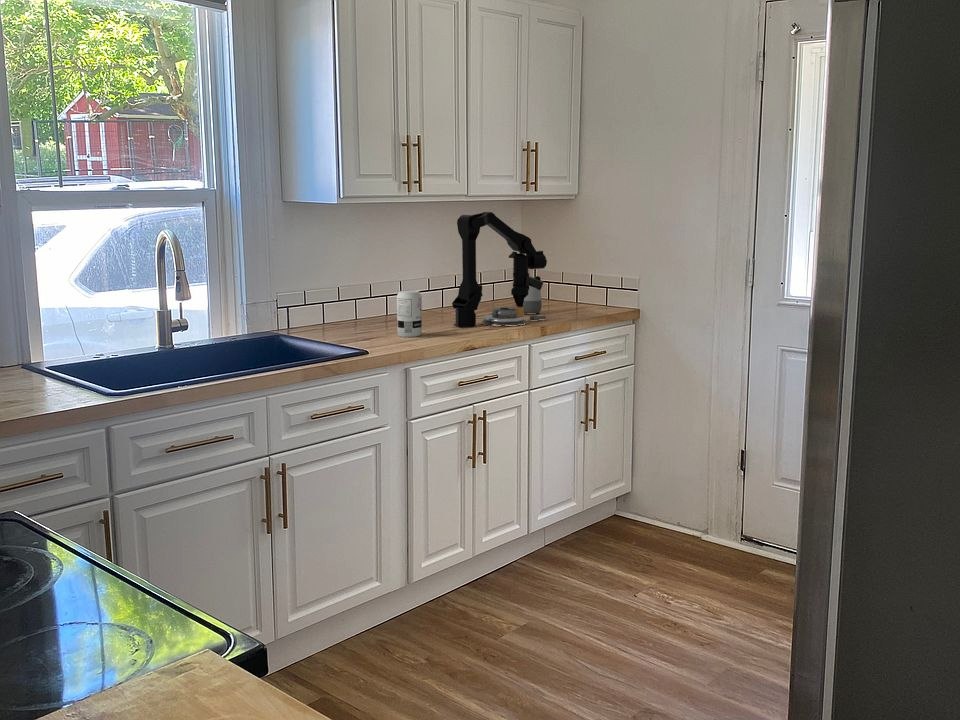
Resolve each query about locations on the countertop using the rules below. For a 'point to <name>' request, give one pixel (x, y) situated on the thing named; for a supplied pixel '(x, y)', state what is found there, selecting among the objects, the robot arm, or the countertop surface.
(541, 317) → the grey bar
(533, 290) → the smart speaker
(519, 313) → the platter
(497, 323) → the turntable base
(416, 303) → the supplement can
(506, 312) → the cover
